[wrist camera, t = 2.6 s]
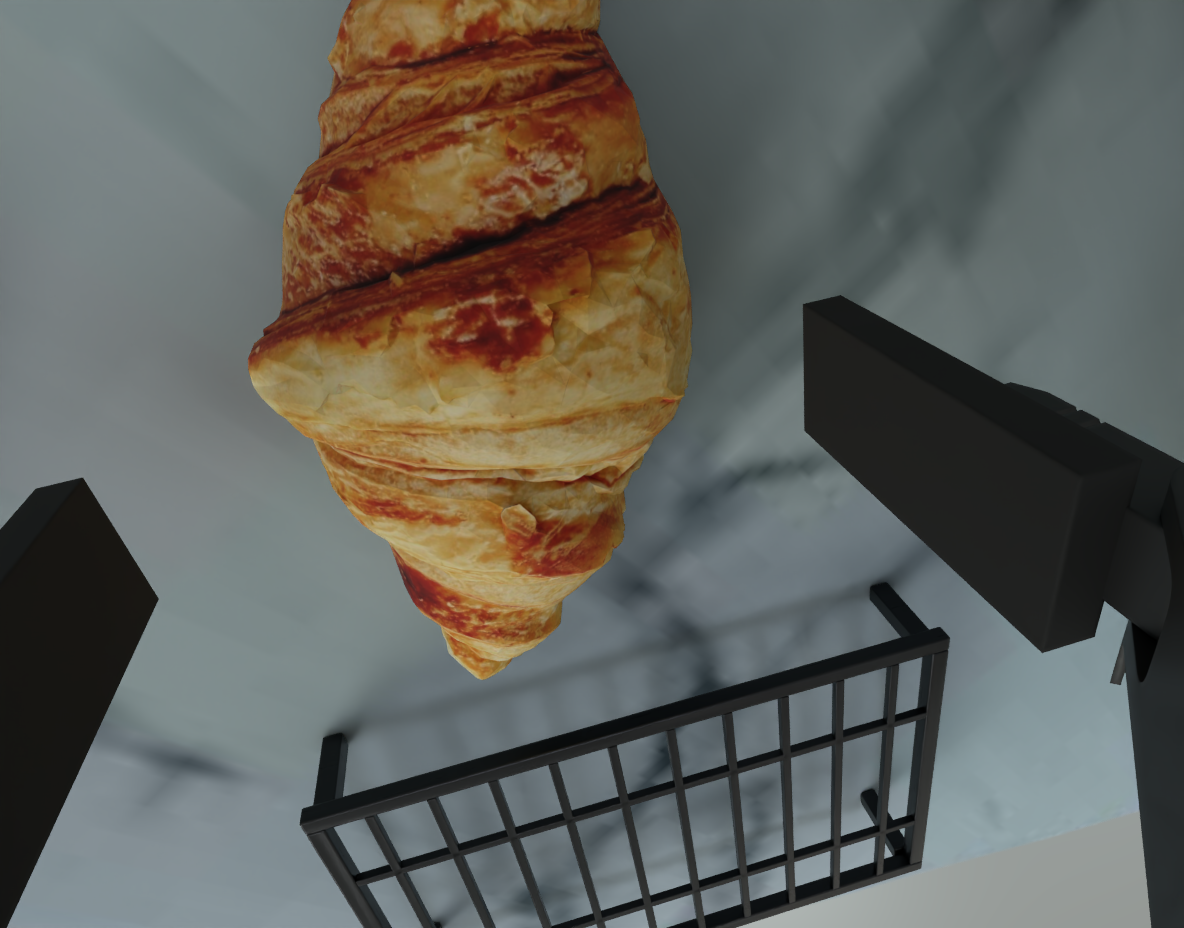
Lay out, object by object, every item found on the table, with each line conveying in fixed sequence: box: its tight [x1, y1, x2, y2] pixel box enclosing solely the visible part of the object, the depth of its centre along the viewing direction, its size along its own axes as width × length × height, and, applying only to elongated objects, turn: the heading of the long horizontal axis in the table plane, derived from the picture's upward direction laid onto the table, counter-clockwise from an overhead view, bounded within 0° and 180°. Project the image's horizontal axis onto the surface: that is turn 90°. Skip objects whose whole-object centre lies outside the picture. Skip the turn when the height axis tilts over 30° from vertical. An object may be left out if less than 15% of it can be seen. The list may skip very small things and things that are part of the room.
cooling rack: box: [300, 583, 950, 928], centre depth 28 cm, size 22×14×4 cm, turn 100°
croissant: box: [248, 0, 692, 680], centre depth 17 cm, size 21×10×8 cm, turn 178°
